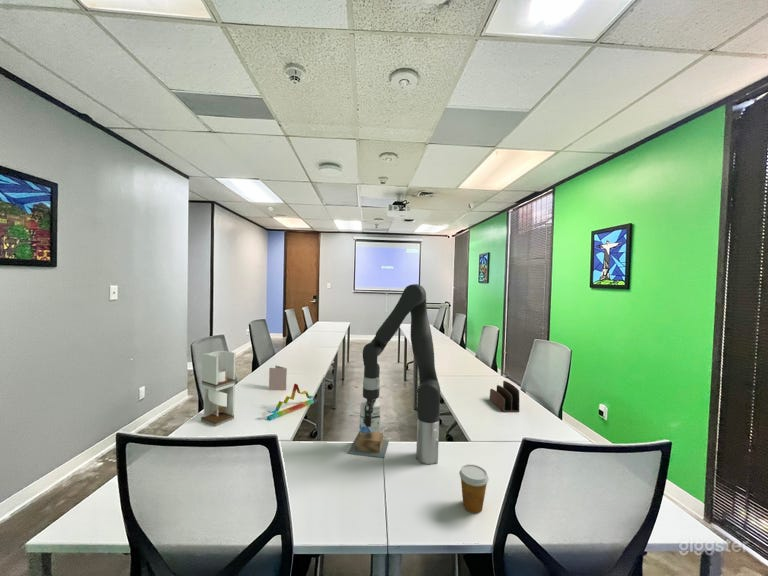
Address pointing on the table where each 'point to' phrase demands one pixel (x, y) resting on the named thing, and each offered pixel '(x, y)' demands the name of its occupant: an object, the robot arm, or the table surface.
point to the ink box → (374, 420)
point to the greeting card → (277, 378)
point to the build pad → (371, 454)
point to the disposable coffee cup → (473, 487)
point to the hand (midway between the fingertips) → (369, 422)
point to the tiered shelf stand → (218, 387)
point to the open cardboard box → (369, 441)
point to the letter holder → (506, 397)
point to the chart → (293, 408)
